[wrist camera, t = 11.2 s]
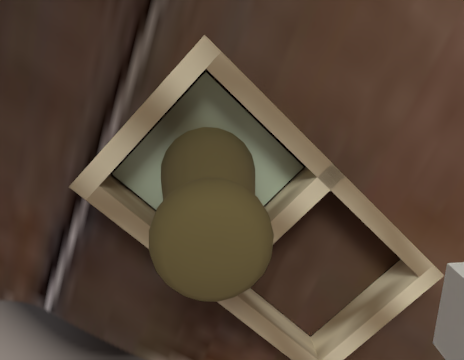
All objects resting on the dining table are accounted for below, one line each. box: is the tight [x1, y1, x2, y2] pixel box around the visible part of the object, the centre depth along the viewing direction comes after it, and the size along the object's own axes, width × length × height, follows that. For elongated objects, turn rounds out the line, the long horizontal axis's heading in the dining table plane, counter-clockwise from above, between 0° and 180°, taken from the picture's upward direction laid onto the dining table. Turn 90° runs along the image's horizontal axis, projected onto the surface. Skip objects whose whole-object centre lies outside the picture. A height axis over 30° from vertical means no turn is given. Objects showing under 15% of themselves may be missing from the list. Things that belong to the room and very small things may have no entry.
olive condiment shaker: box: [149, 127, 274, 302], centre depth 21 cm, size 6×6×11 cm
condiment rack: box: [69, 35, 444, 360], centre depth 26 cm, size 11×22×2 cm, turn 46°
